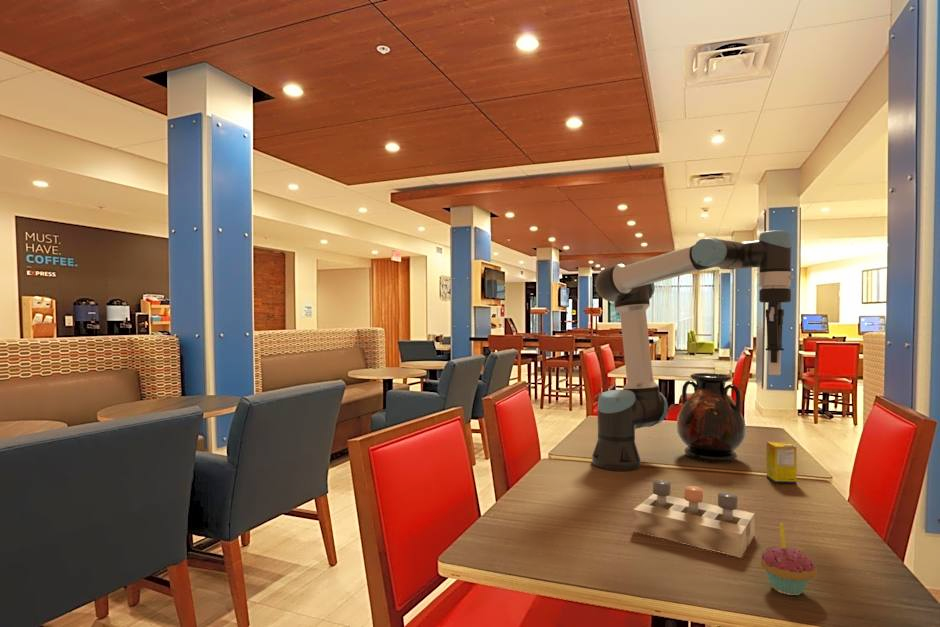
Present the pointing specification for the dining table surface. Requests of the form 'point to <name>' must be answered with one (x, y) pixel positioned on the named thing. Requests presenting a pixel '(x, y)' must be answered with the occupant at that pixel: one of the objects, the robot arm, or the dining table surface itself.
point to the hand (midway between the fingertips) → (774, 374)
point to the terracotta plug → (693, 497)
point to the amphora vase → (711, 419)
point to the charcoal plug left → (661, 491)
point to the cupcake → (787, 567)
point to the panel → (695, 524)
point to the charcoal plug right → (728, 504)
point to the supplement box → (781, 463)
